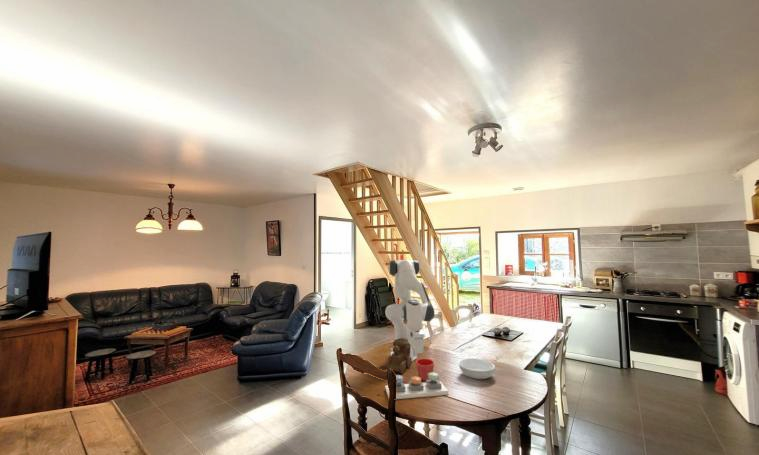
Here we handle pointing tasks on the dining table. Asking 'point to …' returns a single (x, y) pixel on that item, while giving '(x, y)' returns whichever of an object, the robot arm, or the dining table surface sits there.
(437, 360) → the dining table surface
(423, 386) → the console
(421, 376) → the flower pot
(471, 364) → the serving bowl
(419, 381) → the rust button
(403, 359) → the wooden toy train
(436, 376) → the sage button
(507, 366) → the dining table surface
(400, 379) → the slate button
